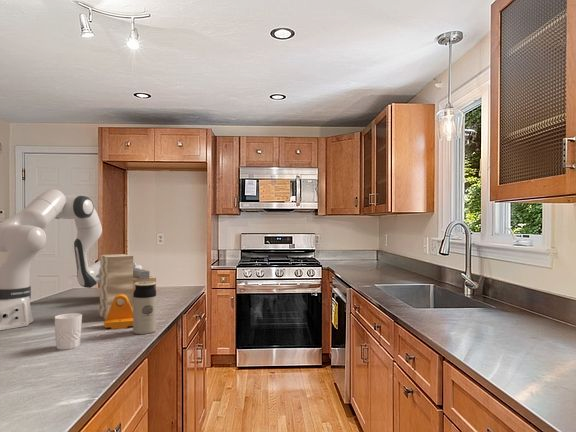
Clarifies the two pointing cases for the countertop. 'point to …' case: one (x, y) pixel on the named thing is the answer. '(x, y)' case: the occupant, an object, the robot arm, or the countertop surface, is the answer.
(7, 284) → the robot arm
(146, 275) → the block
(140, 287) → the travel mug
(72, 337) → the white cup
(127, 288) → the step stand
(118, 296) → the bracket
